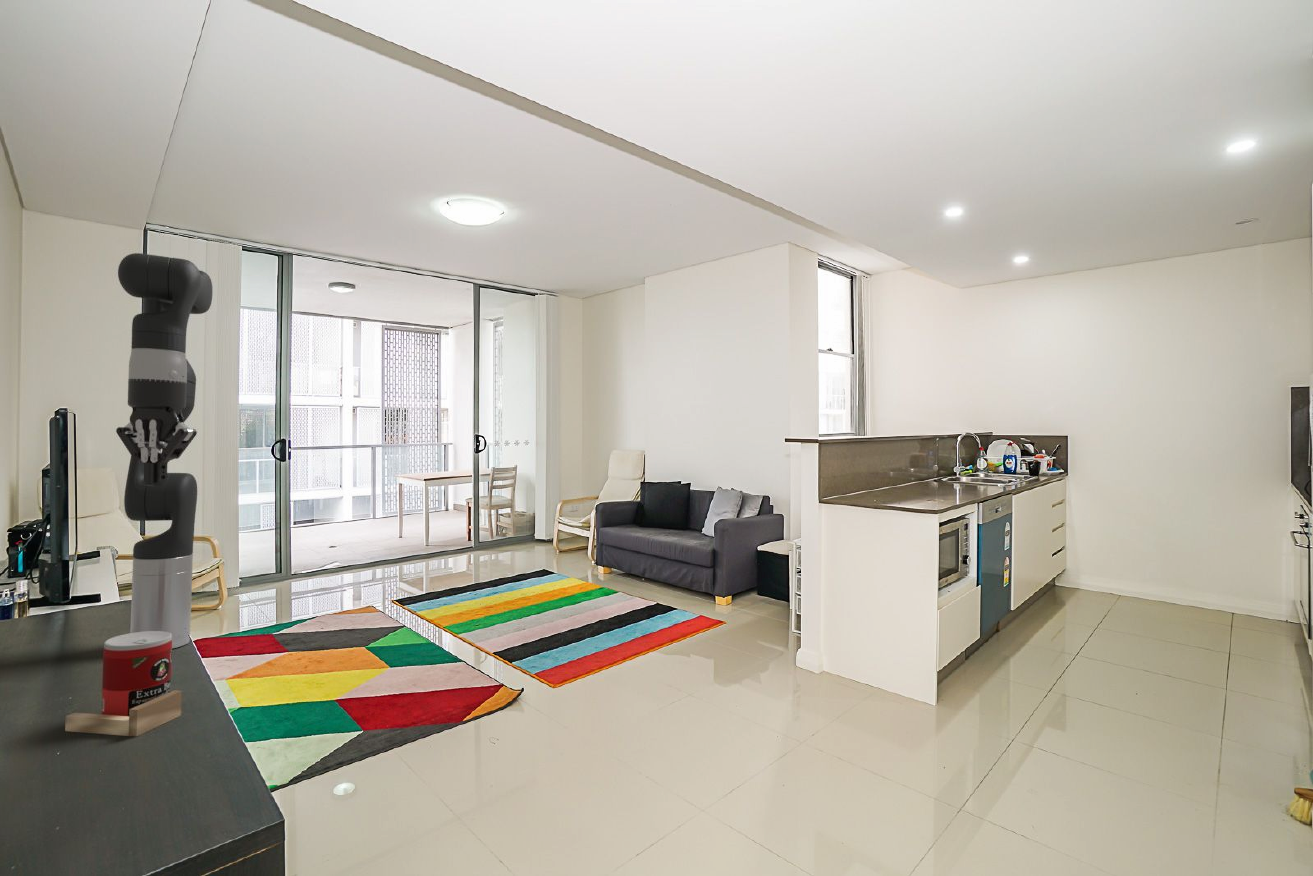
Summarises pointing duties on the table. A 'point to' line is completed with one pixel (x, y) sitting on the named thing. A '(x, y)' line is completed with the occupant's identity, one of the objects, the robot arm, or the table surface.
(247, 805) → the table surface
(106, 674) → the canned food
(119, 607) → the table surface
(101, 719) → the bar
